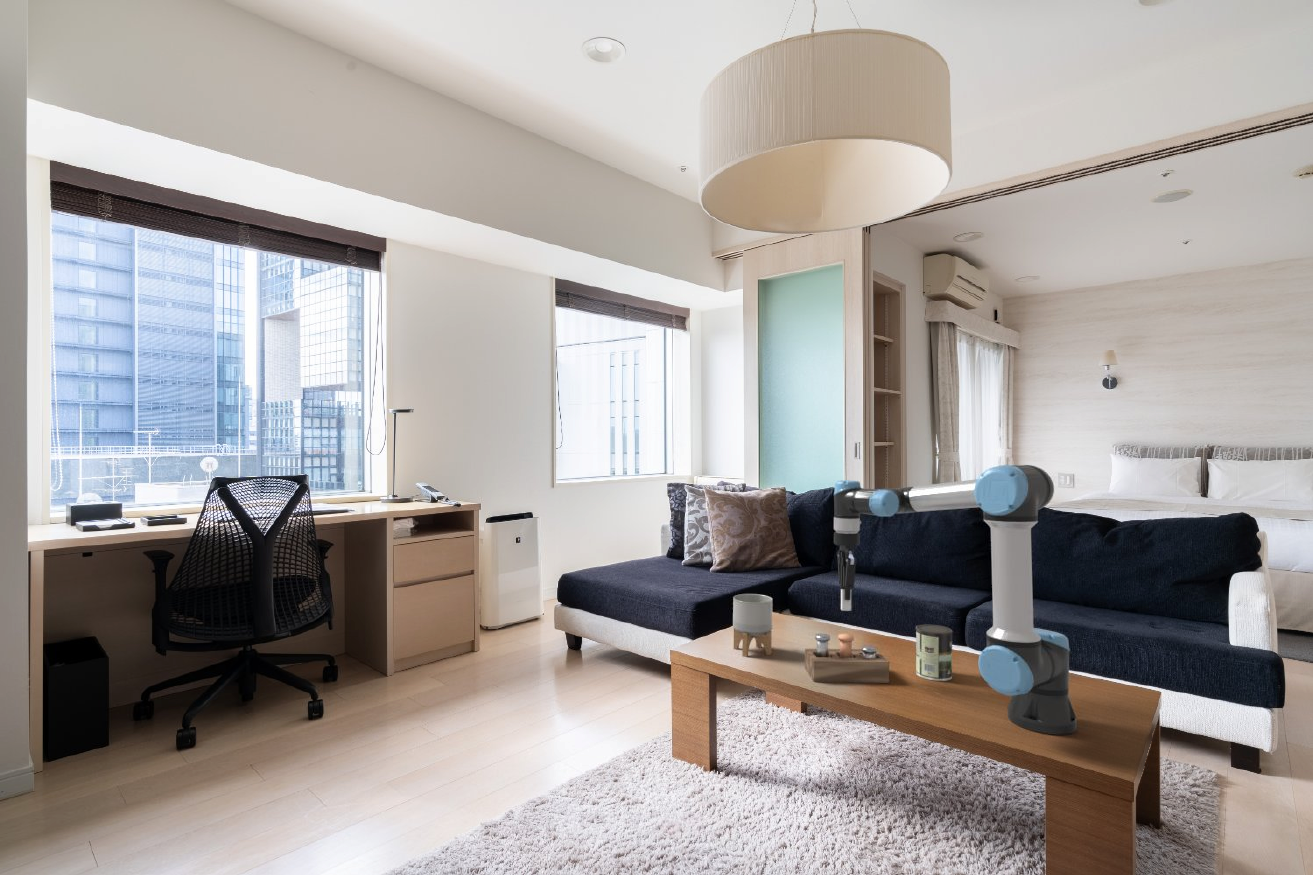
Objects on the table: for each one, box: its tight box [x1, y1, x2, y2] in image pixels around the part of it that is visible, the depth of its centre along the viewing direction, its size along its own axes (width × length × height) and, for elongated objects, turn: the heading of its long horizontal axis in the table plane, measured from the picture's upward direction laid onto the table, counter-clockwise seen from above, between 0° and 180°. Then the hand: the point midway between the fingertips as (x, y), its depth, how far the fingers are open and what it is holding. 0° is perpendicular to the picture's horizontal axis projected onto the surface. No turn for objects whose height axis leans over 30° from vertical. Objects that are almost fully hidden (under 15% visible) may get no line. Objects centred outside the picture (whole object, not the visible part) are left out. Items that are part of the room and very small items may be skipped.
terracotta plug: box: [837, 633, 855, 658], centre depth 202 cm, size 4×4×7 cm
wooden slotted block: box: [804, 648, 890, 684], centre depth 202 cm, size 12×22×6 cm, turn 90°
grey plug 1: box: [814, 633, 831, 658], centre depth 202 cm, size 4×4×7 cm
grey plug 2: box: [860, 645, 878, 658], centre depth 202 cm, size 4×4×7 cm
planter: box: [732, 593, 773, 658], centre depth 224 cm, size 13×13×18 cm
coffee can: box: [915, 623, 954, 682], centre depth 202 cm, size 10×10×14 cm
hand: (845, 609), depth 202 cm, fingers closed
